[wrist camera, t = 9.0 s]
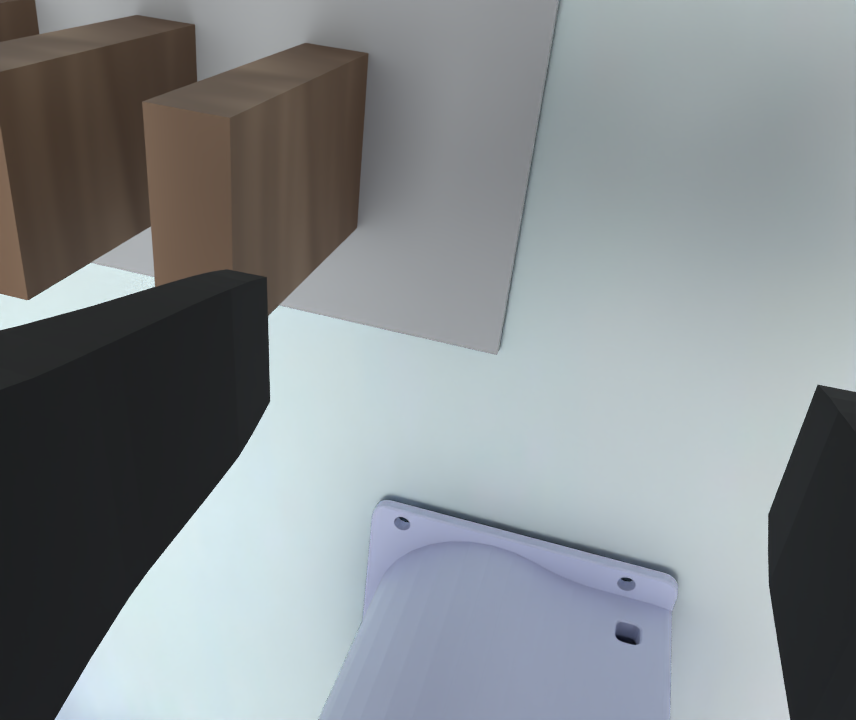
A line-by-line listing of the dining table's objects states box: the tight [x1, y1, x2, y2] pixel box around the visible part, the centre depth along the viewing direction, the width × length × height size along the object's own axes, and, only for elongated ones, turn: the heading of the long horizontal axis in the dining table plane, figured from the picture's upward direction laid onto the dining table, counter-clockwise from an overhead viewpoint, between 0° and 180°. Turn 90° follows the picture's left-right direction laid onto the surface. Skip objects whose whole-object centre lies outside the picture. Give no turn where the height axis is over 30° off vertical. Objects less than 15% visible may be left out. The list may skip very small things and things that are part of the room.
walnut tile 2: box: [0, 15, 197, 300], centre depth 18 cm, size 2×4×7 cm, turn 174°
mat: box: [35, 0, 559, 355], centre depth 22 cm, size 29×10×1 cm, turn 84°
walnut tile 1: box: [142, 43, 369, 315], centre depth 18 cm, size 2×4×7 cm, turn 174°
